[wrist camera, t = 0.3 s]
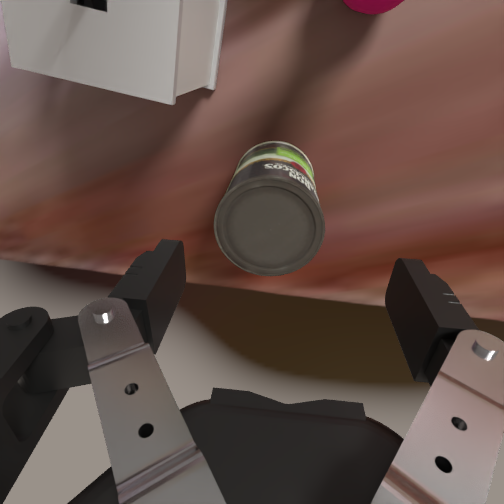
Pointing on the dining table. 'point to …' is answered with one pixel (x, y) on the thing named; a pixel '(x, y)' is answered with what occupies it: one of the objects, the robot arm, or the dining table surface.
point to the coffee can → (270, 211)
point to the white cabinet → (120, 43)
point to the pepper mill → (372, 5)
